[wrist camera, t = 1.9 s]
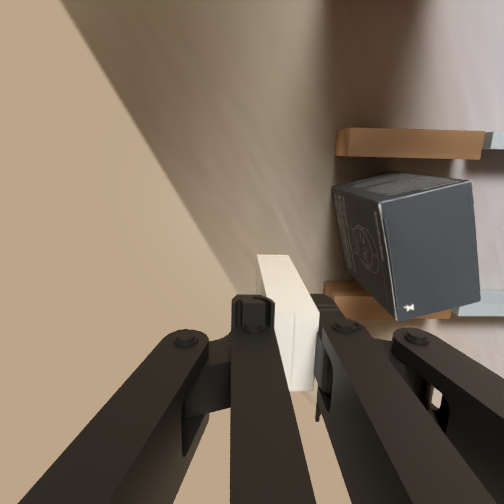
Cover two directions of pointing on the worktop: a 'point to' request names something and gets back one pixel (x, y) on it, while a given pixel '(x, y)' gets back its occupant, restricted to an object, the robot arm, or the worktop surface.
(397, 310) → the box
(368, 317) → the brown bar
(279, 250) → the worktop surface
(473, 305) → the bay
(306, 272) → the worktop surface
